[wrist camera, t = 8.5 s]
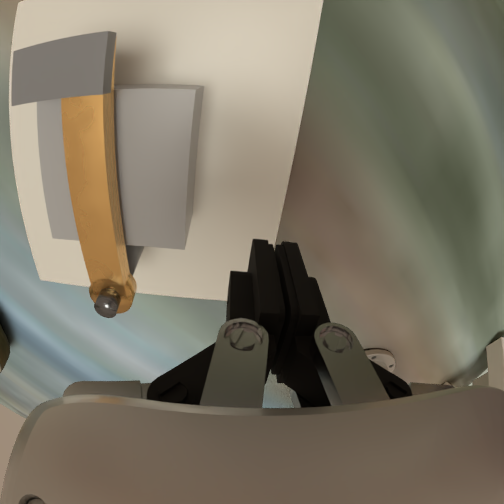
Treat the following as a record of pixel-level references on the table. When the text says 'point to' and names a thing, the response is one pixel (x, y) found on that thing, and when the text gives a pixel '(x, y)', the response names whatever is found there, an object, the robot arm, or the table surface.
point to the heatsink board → (230, 127)
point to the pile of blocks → (493, 366)
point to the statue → (3, 349)
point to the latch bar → (97, 198)
